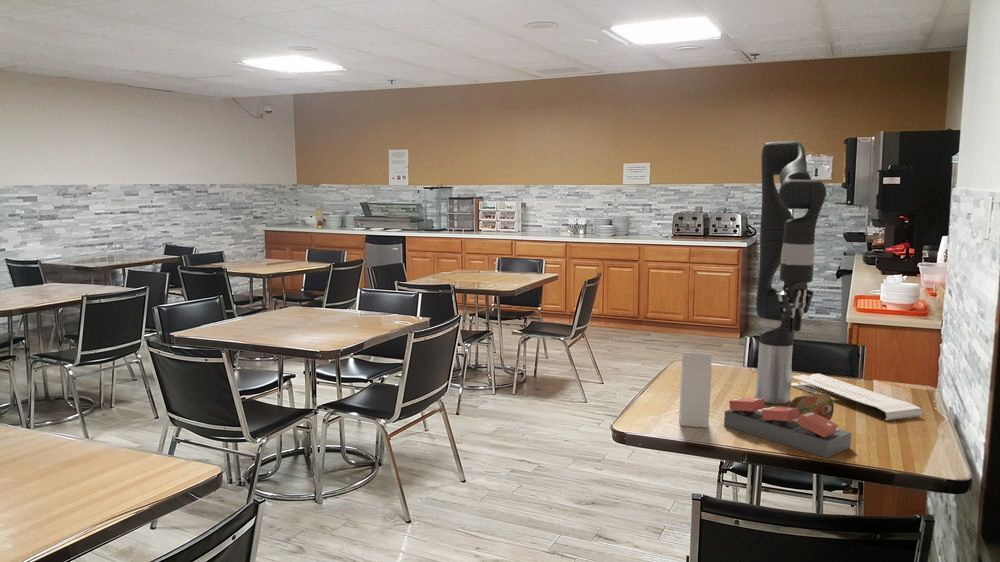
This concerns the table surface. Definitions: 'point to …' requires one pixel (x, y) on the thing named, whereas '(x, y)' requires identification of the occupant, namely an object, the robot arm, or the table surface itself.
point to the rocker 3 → (817, 424)
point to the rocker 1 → (747, 404)
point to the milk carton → (695, 389)
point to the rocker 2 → (780, 413)
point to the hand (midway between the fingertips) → (792, 331)
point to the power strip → (788, 433)
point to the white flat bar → (859, 395)
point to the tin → (814, 405)
